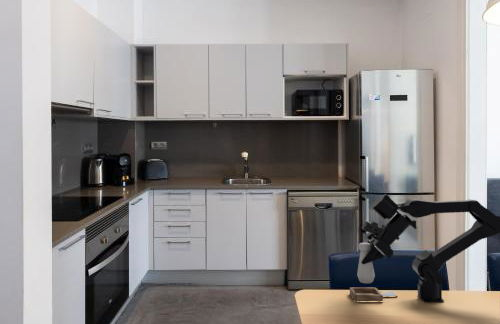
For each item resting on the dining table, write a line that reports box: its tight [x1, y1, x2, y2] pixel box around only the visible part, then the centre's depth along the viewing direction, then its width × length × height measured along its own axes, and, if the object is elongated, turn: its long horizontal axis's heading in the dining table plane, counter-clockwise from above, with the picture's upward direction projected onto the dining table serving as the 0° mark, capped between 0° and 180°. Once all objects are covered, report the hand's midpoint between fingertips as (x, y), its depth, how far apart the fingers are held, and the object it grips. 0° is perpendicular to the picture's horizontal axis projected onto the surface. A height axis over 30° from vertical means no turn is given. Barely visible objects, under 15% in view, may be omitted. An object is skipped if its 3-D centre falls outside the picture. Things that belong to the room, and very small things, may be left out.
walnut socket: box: [349, 287, 384, 303], centre depth 143 cm, size 9×9×2 cm
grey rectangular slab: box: [382, 291, 398, 297], centre depth 145 cm, size 7×5×1 cm
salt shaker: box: [356, 242, 376, 284], centre depth 143 cm, size 6×6×13 cm
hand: (361, 262), depth 143 cm, fingers closed on salt shaker, 3 cm apart
